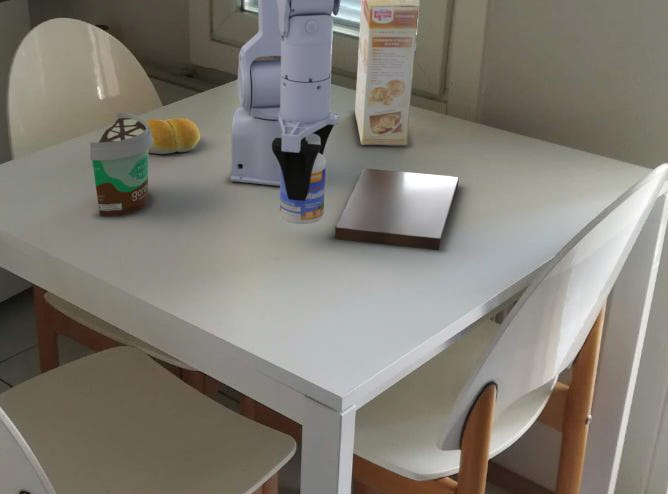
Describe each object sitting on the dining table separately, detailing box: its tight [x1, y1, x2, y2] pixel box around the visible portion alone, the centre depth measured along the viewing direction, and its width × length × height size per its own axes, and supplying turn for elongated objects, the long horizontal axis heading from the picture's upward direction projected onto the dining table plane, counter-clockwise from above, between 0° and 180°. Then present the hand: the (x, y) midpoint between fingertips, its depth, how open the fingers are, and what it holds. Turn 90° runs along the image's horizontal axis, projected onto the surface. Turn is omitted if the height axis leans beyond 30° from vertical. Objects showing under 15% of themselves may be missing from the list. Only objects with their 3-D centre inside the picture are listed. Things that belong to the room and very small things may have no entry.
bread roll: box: [145, 117, 201, 155], centre depth 161 cm, size 8×9×4 cm
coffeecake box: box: [354, 0, 420, 146], centre depth 162 cm, size 15×7×20 cm, turn 179°
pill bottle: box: [279, 133, 327, 225], centre depth 132 cm, size 5×5×10 cm
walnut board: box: [334, 167, 460, 251], centre depth 143 cm, size 13×20×2 cm, turn 165°
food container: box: [89, 111, 153, 217], centre depth 143 cm, size 12×6×10 cm, turn 168°
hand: (302, 189), depth 133 cm, fingers closed on pill bottle, 5 cm apart
